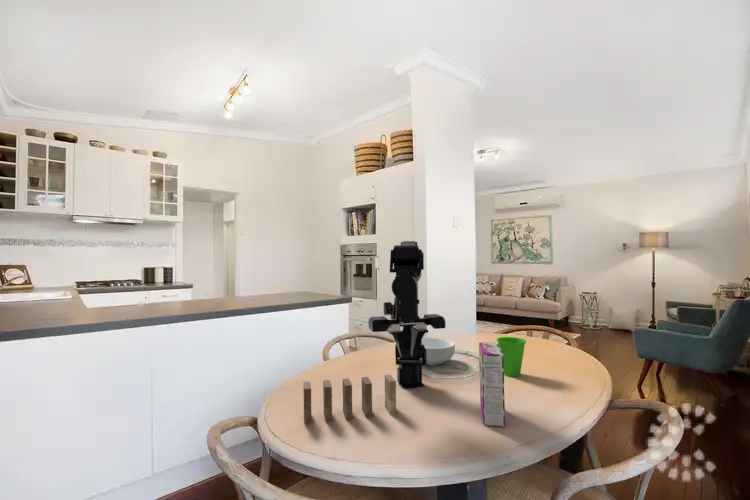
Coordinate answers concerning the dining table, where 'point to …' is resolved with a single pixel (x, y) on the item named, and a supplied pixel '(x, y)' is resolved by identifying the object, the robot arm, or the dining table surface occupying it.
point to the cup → (512, 354)
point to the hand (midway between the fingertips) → (407, 356)
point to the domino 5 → (390, 394)
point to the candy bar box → (492, 384)
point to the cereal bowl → (438, 350)
